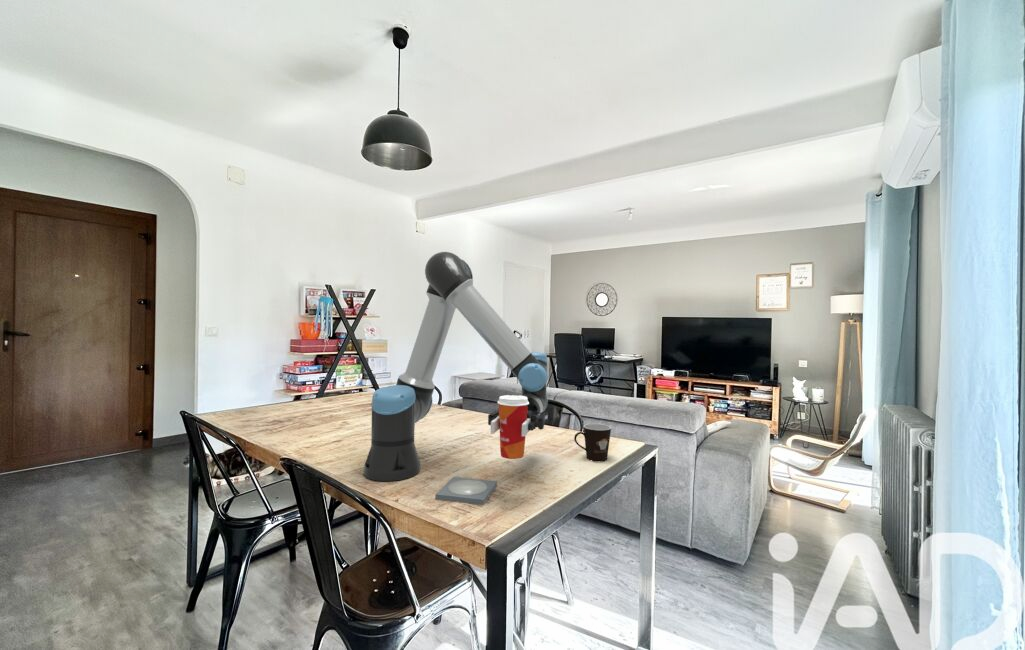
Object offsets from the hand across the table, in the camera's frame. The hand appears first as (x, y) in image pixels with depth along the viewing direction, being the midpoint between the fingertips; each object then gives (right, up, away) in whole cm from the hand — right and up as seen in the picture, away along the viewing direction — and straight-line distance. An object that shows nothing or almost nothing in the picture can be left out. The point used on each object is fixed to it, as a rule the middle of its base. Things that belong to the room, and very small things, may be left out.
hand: (507, 429), depth 95 cm
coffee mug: (+26, -19, +36) cm, 49 cm away
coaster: (-10, -18, +8) cm, 22 cm away
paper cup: (+1, -8, +5) cm, 9 cm away
